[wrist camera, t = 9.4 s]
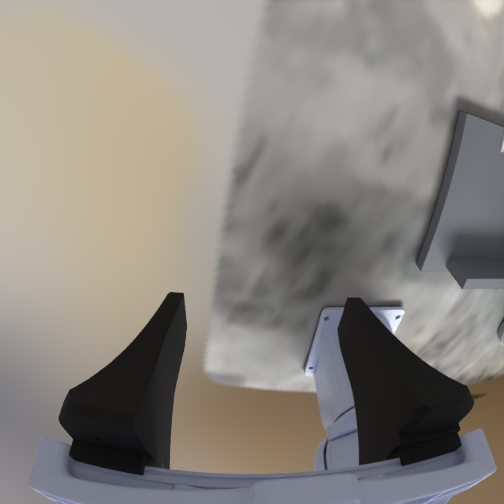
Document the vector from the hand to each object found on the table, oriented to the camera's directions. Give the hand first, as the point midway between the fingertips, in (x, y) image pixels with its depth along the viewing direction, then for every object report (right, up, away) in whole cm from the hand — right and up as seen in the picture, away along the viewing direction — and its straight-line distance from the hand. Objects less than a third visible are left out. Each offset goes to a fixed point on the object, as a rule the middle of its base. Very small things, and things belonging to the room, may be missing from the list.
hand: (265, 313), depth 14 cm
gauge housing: (+22, +7, +7) cm, 24 cm away
